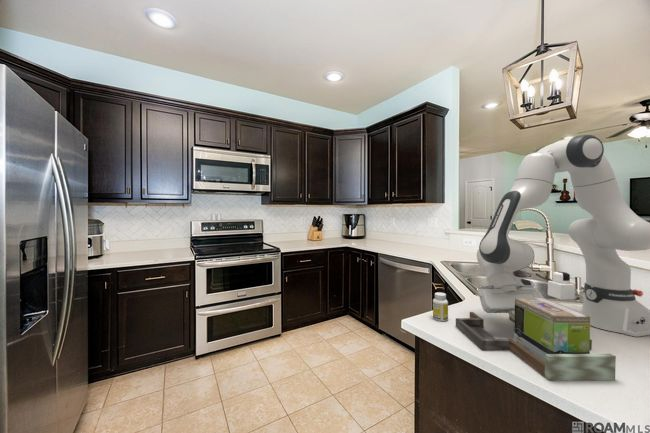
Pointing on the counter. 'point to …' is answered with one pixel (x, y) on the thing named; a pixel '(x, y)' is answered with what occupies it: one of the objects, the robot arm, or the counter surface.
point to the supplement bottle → (440, 307)
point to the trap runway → (555, 364)
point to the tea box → (550, 328)
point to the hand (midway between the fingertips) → (524, 325)
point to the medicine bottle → (561, 286)
